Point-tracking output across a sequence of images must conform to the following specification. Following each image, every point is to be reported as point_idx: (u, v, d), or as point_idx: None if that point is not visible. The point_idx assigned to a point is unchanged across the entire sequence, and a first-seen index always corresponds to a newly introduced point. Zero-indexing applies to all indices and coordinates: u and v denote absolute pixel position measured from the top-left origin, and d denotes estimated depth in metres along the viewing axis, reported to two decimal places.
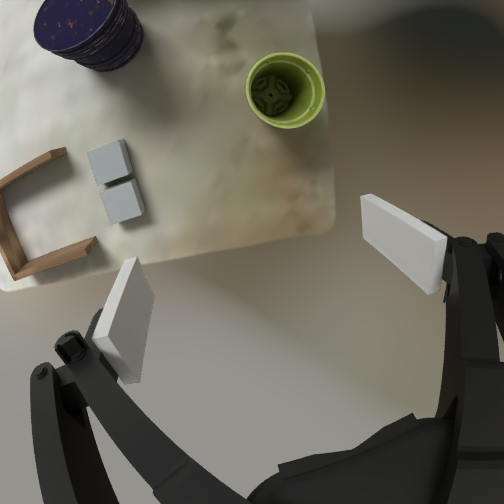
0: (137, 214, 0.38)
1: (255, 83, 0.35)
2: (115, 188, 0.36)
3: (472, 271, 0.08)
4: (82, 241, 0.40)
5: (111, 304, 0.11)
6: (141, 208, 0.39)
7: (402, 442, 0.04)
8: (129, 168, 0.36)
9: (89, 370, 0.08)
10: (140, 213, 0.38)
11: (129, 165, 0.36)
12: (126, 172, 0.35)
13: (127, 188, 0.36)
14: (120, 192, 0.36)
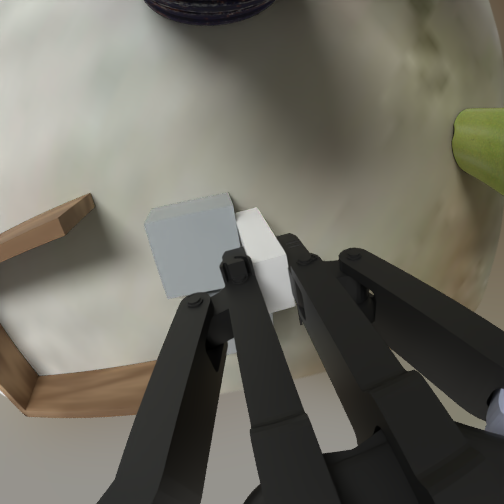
0: None
1: None
2: None
3: (325, 289, 0.09)
4: (141, 366, 0.23)
5: (251, 240, 0.13)
6: None
7: None
8: None
9: (247, 296, 0.10)
10: None
11: None
12: None
13: None
14: None
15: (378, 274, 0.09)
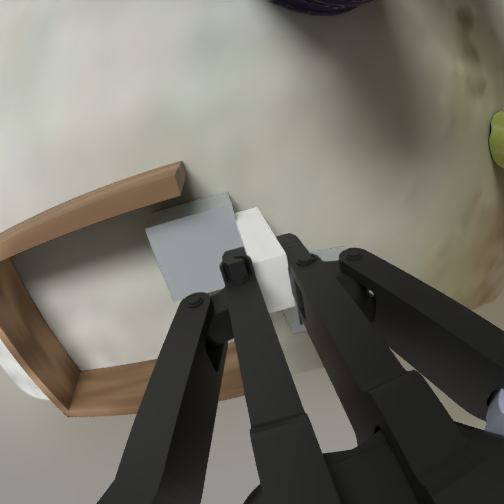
0: None
1: (495, 118, 0.18)
2: None
3: (325, 289, 0.09)
4: None
5: (251, 240, 0.13)
6: None
7: None
8: None
9: (246, 296, 0.10)
10: None
11: None
12: None
13: None
14: None
15: (378, 274, 0.09)
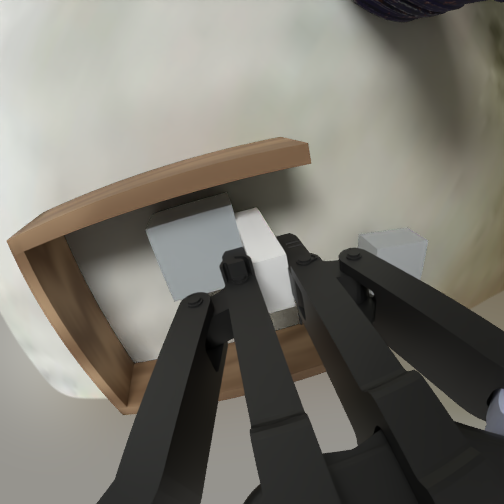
0: None
1: None
2: (404, 247, 0.19)
3: (325, 289, 0.09)
4: (284, 332, 0.23)
5: (251, 240, 0.13)
6: None
7: None
8: None
9: (246, 296, 0.10)
10: None
11: None
12: None
13: (419, 250, 0.19)
14: (407, 255, 0.19)
15: (378, 274, 0.09)
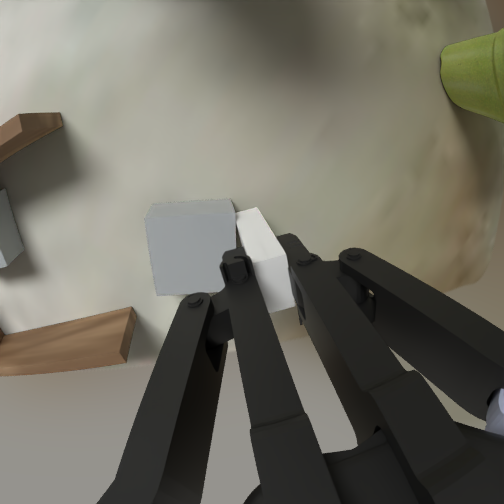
0: None
1: None
2: (190, 218, 0.15)
3: (325, 289, 0.09)
4: (104, 316, 0.20)
5: (251, 240, 0.13)
6: None
7: None
8: (13, 248, 0.15)
9: (246, 296, 0.10)
10: None
11: (12, 241, 0.15)
12: (3, 261, 0.14)
13: (221, 226, 0.16)
14: (199, 231, 0.16)
15: (378, 274, 0.09)
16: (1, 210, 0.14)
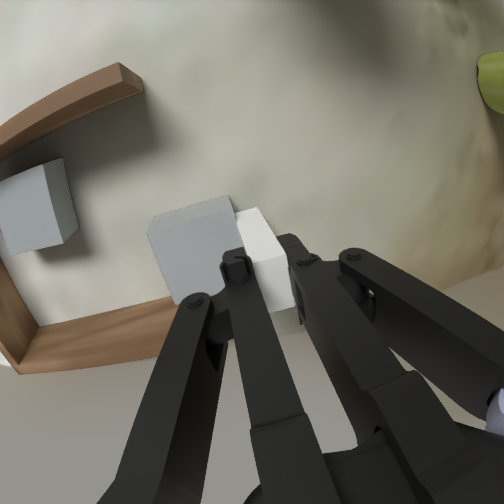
0: None
1: None
2: (190, 224, 0.16)
3: (325, 289, 0.09)
4: (171, 299, 0.20)
5: (251, 240, 0.13)
6: None
7: None
8: (69, 224, 0.16)
9: (246, 296, 0.10)
10: None
11: (68, 216, 0.16)
12: (59, 238, 0.15)
13: (222, 225, 0.16)
14: (202, 234, 0.16)
15: (378, 274, 0.09)
16: (58, 180, 0.15)
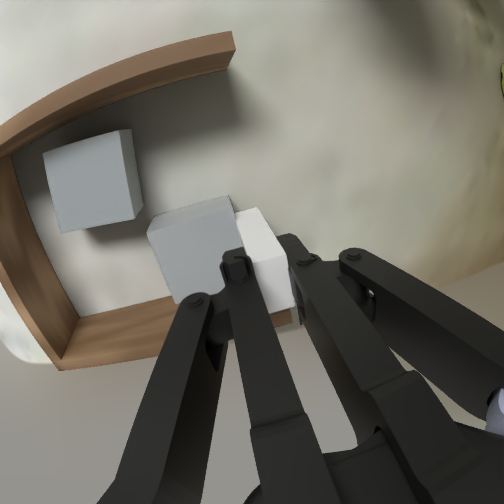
0: None
1: None
2: (190, 223, 0.16)
3: (325, 289, 0.09)
4: None
5: (251, 240, 0.13)
6: None
7: None
8: (137, 199, 0.16)
9: (246, 296, 0.10)
10: None
11: (137, 191, 0.16)
12: (130, 213, 0.15)
13: (222, 224, 0.16)
14: (202, 233, 0.16)
15: (378, 274, 0.09)
16: (129, 151, 0.15)
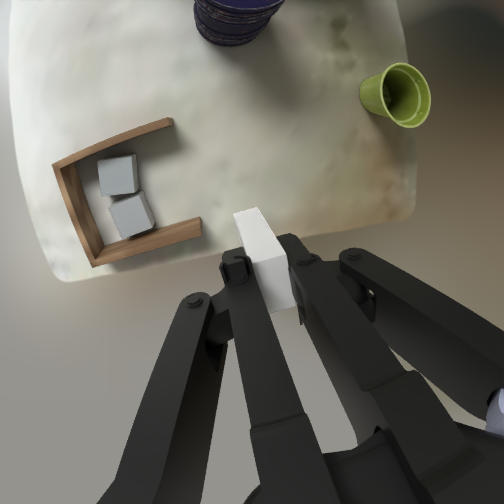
0: (148, 227, 0.39)
1: None
2: (123, 203, 0.37)
3: (325, 289, 0.09)
4: (184, 222, 0.42)
5: (251, 240, 0.13)
6: (151, 220, 0.39)
7: None
8: (136, 185, 0.37)
9: (246, 296, 0.10)
10: (150, 226, 0.39)
11: (136, 181, 0.37)
12: (133, 190, 0.36)
13: (136, 202, 0.37)
14: (129, 206, 0.37)
15: (378, 274, 0.09)
16: (134, 164, 0.36)
